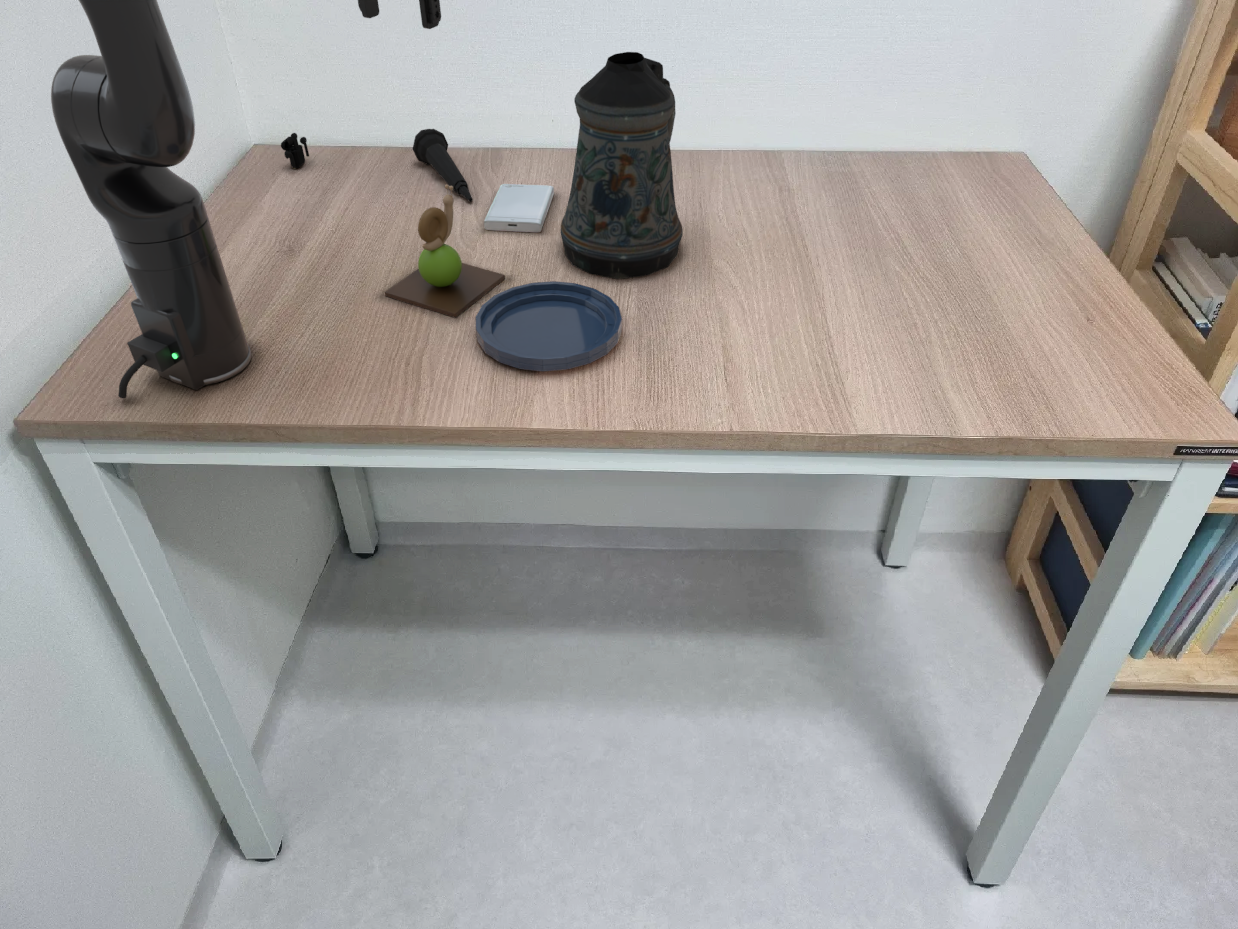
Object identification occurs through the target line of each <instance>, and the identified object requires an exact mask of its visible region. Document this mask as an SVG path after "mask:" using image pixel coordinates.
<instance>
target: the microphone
mask: <svg viewBox="0 0 1238 929" xmlns="http://www.w3.org/2000/svg"><path fill="white" fill-rule="evenodd" d="M448 148H449V143H448V141H447V139H446V137H445V135H444V133H443V132H441V131H439V130H438V129H435V128H425V129H420V131H419V132H418V133H416V135H415V136H414V140H413V145H412V151H413V153H414V155H415V157H416V159H417V160H418V161H419V162H421V163H423V164H425V165H427V166H428V165H429V166H431V167H432V168H433V169H434V171H436V172H437V174H438V175H439V176H440V177H441V178H442V179H443V180H444V181H445V183H446V184H447V185H449V186H453V190H452V191H454V192H455V193H456V194H458V195H459V196H463V197H464V198H465V199H466V200H467V201H468V202H469V203H472V202H473V200H474V199H473V196H472V194H471V192H470V189H469V184H468V183H467V180H466V179H465V177H464V176H463V174H462V172H461V171H460V169H459V168H458V166H457V164H456V163H455V161H454V160H453V158H452V157H451V155H450V153H449V152H448Z"/></svg>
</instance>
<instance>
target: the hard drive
mask: <svg viewBox="0 0 1238 929" xmlns="http://www.w3.org/2000/svg"><path fill="white" fill-rule="evenodd" d="M554 195H555V187H554V186H553V185H547V184H521V183H520V184H519V183H517V184H516V183H502V184H500V186H499V188H498V190H497V192H496V194H495V197H494V199H493V201H492V202H491V205H490V207H489V209H488V212H487V214H486V216H485V218H484V220H483V227H484V230H487V231H499V232H522V233H540V232H542V230H543V226H544V224H545V220H546V219H547V215H548V212H549V209H550V206H551V204H552V201H553V198H554Z"/></svg>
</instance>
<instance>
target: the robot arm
mask: <svg viewBox="0 0 1238 929" xmlns="http://www.w3.org/2000/svg"><path fill="white" fill-rule="evenodd" d="M78 2H79V4H80V6H81V7H82V10H83V11H84V13H85V15H86V17H87V20H88V23H89V25H90V26H91V29H92V32H93V35H94V37H95V40H96V43H97V46H98V50H99V53H100V55H97V54H96V55H95V54H81V55H76V56H72V57H71V58H68V59H67V60H65V61H64V62H63V63H62V64H60V66H59V67H58V68H57V70H56V71H55V73H54V76H53V78H52V82H51V88H50V102H51V103H50V104H51V109H52V110H51V111H52V114H53V118H54V123H55V126H56V128H57V130H58V133H59V136H60V138H61V141H62V144H63V145H64V148H65V150H66V152H67V154H68V157H69V159H70V161H71V163H72V166H73V167H74V170H75V172H76V174H77V177H78V178H79V181H80V183H81V185H82V187H83V189H84V191H85V194H86V196H87V198H88V200H89V201H90V204H91V205H92V206H93V208H94V209H95V210H96V212H98V213H99V215H100V216H101V217H103V219H104V220H105V222H107V225H108V227H109V229H110V232H111V234H112V237H113V239H114V242H115V244H116V247H117V250H118V252H119V254H120V255H119V256H120V258H121V260H122V263H123V265H124V268H125V271H126V273H127V276H128V278H129V280H130V283H131V286H132V289H133V291H134V293H135V296H136V298H135V299H133V300H131V302H130V306H131V309H132V311H133V314H134V317H135V319H136V322H137V325H138V327H139V329H140V332H141V334H139V335H138V336H136V337H134V338H133V339H131V340H129V341H127V343H126V344H127V346H128V350H129V351H130V354H131V356H132V358H133V361H134V362H133V363H132V364H131V365H130V366H129V368H128V369H127V370H126V371H125V373H124V374H123V376H122V377H121V378H120V381H119V386H118V398H120V399H126V398H127V395H128V394H127V392H128V386H129V383H130V381H131V379H132V378H133V376H135V374H136V373H137V372H138V371H139V370H140V369H141V367H143V366H145V367H148V368H151V369H153V370H156V372H157V374H158V376H159V377H162V378H164V379H167V380H168V381H172V382H173V383H176V384H179V385H182V386H185V387H187V388H189V389H192V390H195V391H197V390H200V389H201V388H203V387H205V386H207V385H213V384H217V383H219V382H223V381H225V380H228V379H230V378H233V377H235V376H236V375H238V374H239V373H241V372H242V371H243V370H245V368H246V367H247V366H248V365H249V363H250V362H251V360H252V357H253V356H252V354H253V353H252V350H251V347H250V345H249V343H248V340H247V337H246V334H245V331H244V328H243V324H242V321H241V319H240V318H241V317H240V315H239V311H238V309H237V305H236V302H235V298H234V296H233V292H232V290H231V286H230V283H229V279H228V276H227V274H226V271H225V270H226V269H225V266H224V263H223V261H222V258H221V254H220V251H219V247H218V244H217V241H216V238H215V233H214V232H213V228H212V225H211V222H210V218H209V215H208V212H207V208H206V205H205V202H204V199H203V197H202V194H201V193H200V191H199V190H198V189H197V187H196V186H194V185H193V184H192V183H191V182H190V181H189V182H188V181H187V180H186V179H184V178H182V177H181V176H180V175H177V173H175V172H173V171H172V169H170V167H174V166H177V165H180V163H183V161H184V160H185V159H186V158H187V157H188V156H189V154H190V152H191V150H192V147H193V145H194V141H195V140H194V139H195V134H196V121H195V112H194V106H193V101H192V97H191V94H190V90H189V87H188V84H187V81H186V77H185V74H184V72H183V69H182V67H181V66H182V65H181V63H180V60H179V58H178V55H177V53H176V50H175V46H174V45H173V42H172V39H171V37H170V34H169V31H168V28H167V25H166V23H165V22H166V21H165V19H164V17H163V14H162V12H161V9H160V5H159V3H158V0H78ZM418 4H419V11H420V19H421V26H422V28H423V29H426V30H431V29H434V28H436V27H438V26H439V24H440V22H441V20H442V11H441V1H440V0H418ZM357 5H358V9H359V11H360V12H361V15H362V17H363V18H365V19H373V18H375V17H377V16H379V15H380V6H379V0H357Z"/></svg>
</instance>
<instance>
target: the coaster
mask: <svg viewBox="0 0 1238 929" xmlns="http://www.w3.org/2000/svg"><path fill="white" fill-rule="evenodd" d="M505 279H506V275H505V274H504V273H500V272H496V271H493V270H489V269H486V268H481V267H478V266H475V265H471V264H468V263H464V262H462V270H461V273H460V276H459V277H458V279H457V280H456V281H455V282H454V283H452V284H451V285H449V286H445V287H437V286H433V285H431V284H429V283H428V282H426V281H425V280H424V279H423V277H422V276H421V274H420V272H419V268H417V269H415V270H414V271H413V272H411V273H410V274H408V275H407V276H406V277H404V278H403V279H401V280H400V281H398V282H396V284H394V285H393V286H391V287H389V288H388V289H387V290H386V291H384V296H385V297H387V298H390V299H393V300H397V301H400V302H403V303H407V304H410V305H412V306H413V305H414V306H417V307H420V308H423V309H426V310H430V311H433V312H436V313H440V314H441V315H442V314H443V315H446V316H449V317H452V318H457V317H459V316H460V315H461V314H463V313H464V312H465V311H466V310H468V308H470V307H471V306H473V305H474V304H475V303H476V302H477V301H479V300H480V299H482V297H484V296H485V295H486V294H488V293H489V292H490V291H491V290H494V288H496V287H497V286H498V285H499V284H500V283H502V282H503V281H505Z"/></svg>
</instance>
